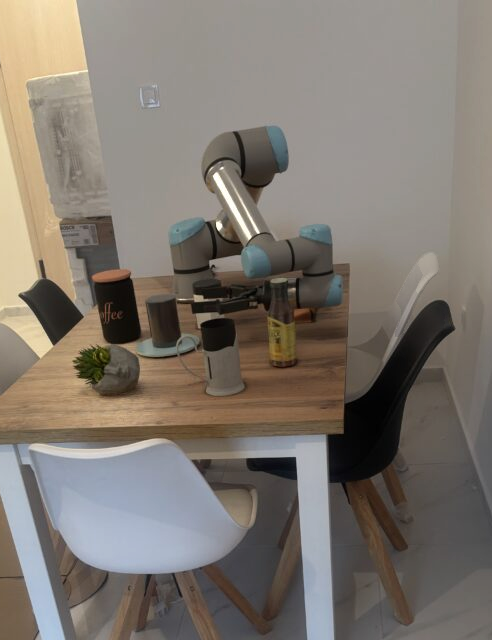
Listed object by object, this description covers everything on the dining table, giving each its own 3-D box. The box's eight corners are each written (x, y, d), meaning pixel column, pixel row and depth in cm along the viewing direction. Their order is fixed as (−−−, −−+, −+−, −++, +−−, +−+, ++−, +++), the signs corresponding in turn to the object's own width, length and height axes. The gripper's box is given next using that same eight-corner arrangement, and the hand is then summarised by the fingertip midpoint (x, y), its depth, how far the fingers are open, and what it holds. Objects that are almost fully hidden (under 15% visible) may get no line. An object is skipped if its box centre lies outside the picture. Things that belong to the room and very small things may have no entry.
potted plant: (140, 385, 171) (71, 379, 167) (133, 406, 183) (69, 400, 180) (141, 335, 174) (74, 328, 170) (134, 359, 186) (71, 352, 182)
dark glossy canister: (156, 339, 208) (149, 294, 202) (185, 337, 206) (179, 292, 200) (149, 349, 201) (141, 303, 195) (178, 347, 199) (171, 301, 193)
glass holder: (250, 389, 170) (243, 323, 163) (190, 404, 167) (180, 337, 159) (236, 378, 177) (229, 314, 170) (178, 392, 174) (168, 327, 167)
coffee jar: (96, 341, 217) (83, 277, 208) (125, 331, 223) (113, 267, 214) (121, 346, 210) (108, 280, 201) (149, 335, 216) (139, 270, 208)
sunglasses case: (288, 304, 226) (298, 283, 222) (309, 314, 227) (320, 294, 223) (284, 322, 211) (295, 300, 207) (307, 333, 211) (318, 312, 208)
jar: (205, 331, 213) (200, 288, 207) (190, 326, 219) (185, 284, 214) (232, 323, 217) (227, 280, 211) (217, 318, 223) (212, 277, 217)
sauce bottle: (266, 363, 184) (258, 279, 175) (289, 357, 186) (283, 274, 176) (278, 370, 179) (271, 284, 169) (302, 364, 181) (296, 279, 171)
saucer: (146, 340, 213) (145, 335, 212) (205, 336, 209) (205, 331, 209) (128, 360, 199) (127, 355, 198) (192, 357, 195) (191, 352, 194)
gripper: (275, 324, 183) (188, 329, 187) (286, 296, 204) (209, 302, 208) (272, 292, 179) (184, 299, 184) (284, 267, 200) (205, 274, 205)
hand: (197, 300), depth 196 cm, fingers open, 13 cm apart
